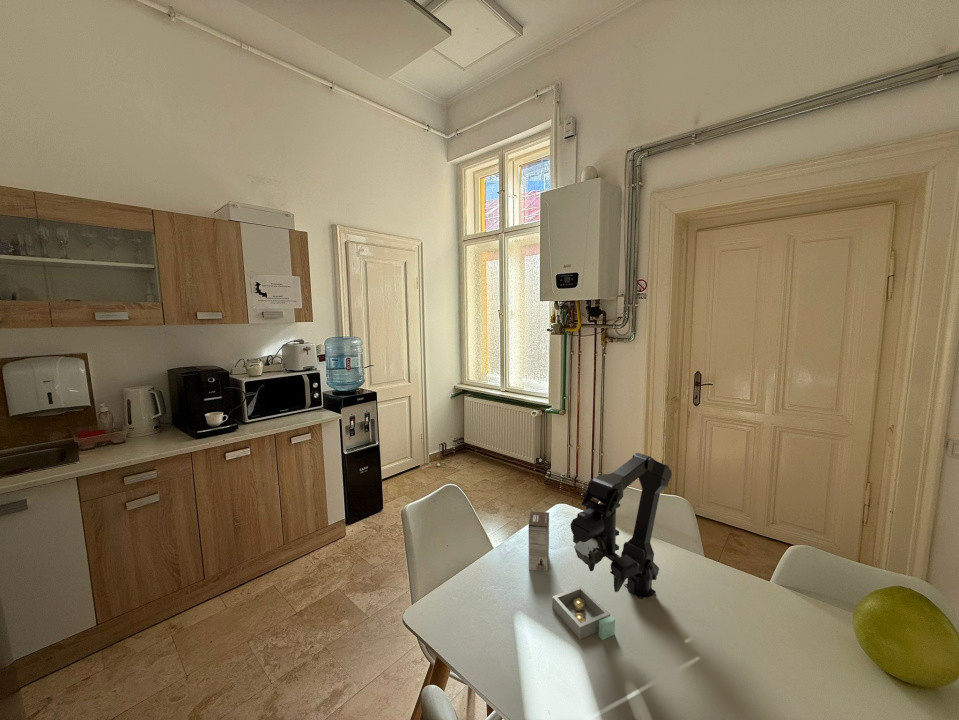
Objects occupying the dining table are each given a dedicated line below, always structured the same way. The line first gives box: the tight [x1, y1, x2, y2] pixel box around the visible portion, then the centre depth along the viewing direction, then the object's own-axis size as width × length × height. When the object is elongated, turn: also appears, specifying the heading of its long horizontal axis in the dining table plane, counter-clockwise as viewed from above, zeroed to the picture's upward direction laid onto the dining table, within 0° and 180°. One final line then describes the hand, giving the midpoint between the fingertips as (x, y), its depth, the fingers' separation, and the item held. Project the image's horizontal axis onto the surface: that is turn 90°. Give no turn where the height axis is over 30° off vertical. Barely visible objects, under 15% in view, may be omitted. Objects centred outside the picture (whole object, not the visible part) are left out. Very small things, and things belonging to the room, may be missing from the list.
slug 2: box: [574, 613, 586, 623], centre depth 104 cm, size 3×3×2 cm
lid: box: [598, 615, 616, 641], centre depth 97 cm, size 10×12×5 cm
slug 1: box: [573, 598, 584, 613], centre depth 110 cm, size 3×3×2 cm
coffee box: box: [528, 511, 550, 572], centre depth 130 cm, size 9×6×16 cm
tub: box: [551, 585, 611, 640], centre depth 107 cm, size 10×12×4 cm
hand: (603, 580), depth 105 cm, fingers open, 9 cm apart
